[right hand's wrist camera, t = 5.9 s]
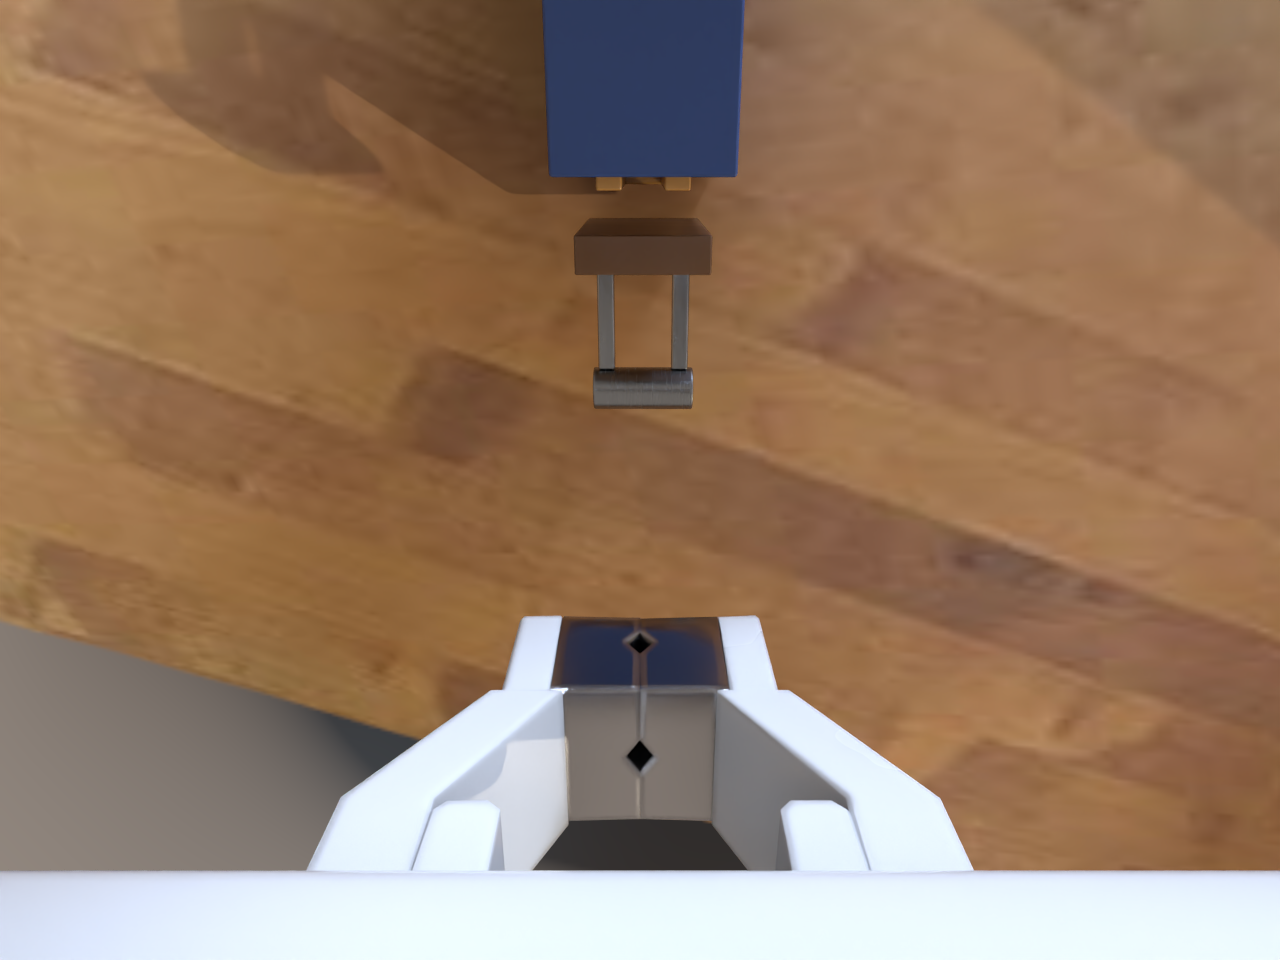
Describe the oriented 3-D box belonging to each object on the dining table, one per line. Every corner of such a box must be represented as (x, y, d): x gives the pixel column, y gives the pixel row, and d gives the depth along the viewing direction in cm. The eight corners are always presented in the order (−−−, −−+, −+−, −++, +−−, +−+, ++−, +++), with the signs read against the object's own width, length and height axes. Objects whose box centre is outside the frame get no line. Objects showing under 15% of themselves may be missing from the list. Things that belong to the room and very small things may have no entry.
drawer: (693, 384, 34) (706, 440, 27) (592, 383, 34) (579, 440, 27) (713, -380, 25) (738, -577, 18) (575, -380, 25) (549, -576, 18)
